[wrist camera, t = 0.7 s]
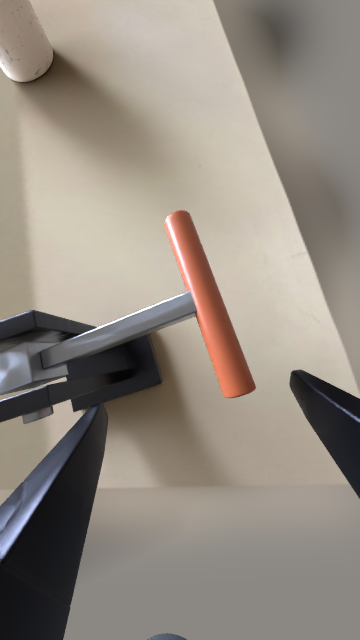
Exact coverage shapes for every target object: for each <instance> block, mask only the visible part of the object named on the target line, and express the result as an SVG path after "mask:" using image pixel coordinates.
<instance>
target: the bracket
mask: <svg viewBox="0 0 360 640" xmlns="http://www.w3.org/2000/svg"><path fill="white" fill-rule="evenodd" d="M96 328H98V327H95V326H91V325H87V324H83V323H80V322H76V321H72V320H69V319H65V318H61V317H58V316H54V315H50V314H46V313H43V312H39V311H35V310H31V311H28V312H25V313H22V314H20V315H17V316H14V317H11V318H8V319H5V320H2V321H0V352H3V351H5V350H7V349H10V348H12V347H14V346H17V345H19V344H21V343H24V342H64V341H66V340H69V339H71V338H74V337H76V336H79V335H81V334H84V333H86V332H88V331H91V330H93V329H96ZM66 365H67V370H68V376H66V378H67V381H65V382H60V383H55V384H50V385H46V386H43V387H40V388H37V389H34V390H31V391H28V392H25V393H22V394H19V395H16V396H13V397H10V398H7V399H4V400H1V401H0V422H3V421H6V420H9V419H12V418H15V417H19V416H22V415H23V416H22V417H23V423H24V424H27V423H30V422H33V421H36V420H39V419H42V418H44V417H47V416H50V415H52V414H53V413H54V412H53V407H52V405H55V404H58V403H61V402H63V401H66V400H69V399H71V402H72V407H73V412H76V411H79V410H82V409H85V408H88V407H91V406H92V405H93V404H98V403H103V402H106V401H109V400H112V399H115V398H118V397H122V396H125V395H128V394H131V393H134V392H137V391H140V390H143V389H146V388H149V387H152V386H155V385H158V384H161V383H162V382H163V379H162V375H161V372H160V368H159V365H158V362H157V358H156V355H155V351H154V348H153V345H152V341H151V338H150V334H147V335H144V336H141V337H139V338H136V339H133V340H131V341H128V342H125V343H123V344H120V345H117V346H115V347H112V348H109V349H107V350H104V351H101V352H99V353H96V354H93V355H91V356H88V357H85V358H82V359H80V360H77V361H74V362H72V363H69V364H66Z"/></svg>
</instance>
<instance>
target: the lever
mask: <svg viewBox="0 0 360 640" xmlns="http://www.w3.org/2000/svg"><path fill="white" fill-rule="evenodd" d="M164 226H165V229H166V232H167V235H168V237H169V240H170V243H171V246H172V249H173V252H174V255H175V258H176V261H177V263H178V266H179V269H180V272H181V275H182V278H183V281H184V284H185V286H186V289H187V292H185V293H183V294H180V295H178V296H175V297H173V298H170V299H168V300H165V301H163V302H160V303H158V304H155V305H153V306H150V307H148V308H145V309H143V310H140V311H138V312H136V313H133V314H131V315H128V316H126V317H123V318H121V319H118V320H116V321H113V322H111V323H108V324H106V325H103V326H101V327H98V328H96V329H93V330H91V331H88V332H86V333H84V334H81V335H79V336H76V337H74V338H71V339H69V340H66V341H64V342H24V343H21V344H19V345H17V346H14V347H12V348H10V349H7V350H5V351H3V352H0V395H3V394H7V393H12V392H16V391H21V390H25V389H30V388H35V387H37V386H40V385H43V384H46V383H48V382H51V381H54V380H57V379H60V378H62V377H65V376H68V370H67V365H66V364H69V363H72V362H74V361H77V360H80V359H82V358H85V357H88V356H91V355H93V354H96V353H99V352H101V351H104V350H107V349H109V348H112V347H115V346H117V345H120V344H123V343H125V342H128V341H131V340H133V339H136V338H139V337H141V336H144V335H147V334H149V333H152V332H155V331H157V330H160V329H163V328H165V327H168V326H171V325H174V324H176V323H179V322H182V321H184V320H187V319H190V318H192V317H195V316H196V318H197V321H198V324H199V327H200V330H201V332H202V335H203V338H204V341H205V344H206V347H207V350H208V353H209V355H210V358H211V361H212V364H213V367H214V370H215V373H216V376H217V378H218V381H219V384H220V387H221V390H222V393H223V396H224V397H225V398H235V397H240V396H243V395H246V394H249V393H251V392H252V391H254V390H255V388H256V386H255V383H254V381H253V378H252V375H251V373H250V370H249V368H248V365H247V362H246V360H245V357H244V354H243V352H242V349H241V347H240V344H239V341H238V339H237V336H236V334H235V331H234V328H233V326H232V323H231V320H230V318H229V315H228V313H227V310H226V307H225V305H224V302H223V299H222V297H221V294H220V292H219V289H218V286H217V284H216V281H215V278H214V276H213V273H212V271H211V268H210V265H209V263H208V260H207V257H206V255H205V252H204V250H203V247H202V244H201V242H200V239H199V237H198V234H197V231H196V229H195V226H194V223H193V221H192V218H191V216H190V214H189V213H188V212H187V211H184V210H179V211H175V212H173V213H172V214H170V215H169V216H168V217H167V218H166V220H165V224H164Z"/></svg>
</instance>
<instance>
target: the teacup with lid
mask: <svg viewBox="0 0 360 640" xmlns="http://www.w3.org/2000/svg"><path fill="white" fill-rule="evenodd" d="M52 60H53V50H52V47H51V45H50V43H49V41H48V39H47V37H46V35H45V33H44V31H43V29H42V26H41V24H40V22H39V20H38V18H37V16H36V14H35V12H34V10H33V8H32V6H31V4H30V1H29V0H0V67H1V68H2V69H3V71H4V72H5V74H6V75H7V76H8V77H9V78H11V79H12V80H15V81H18V82H27V81H31V80H34V79H36V78H38V77H40V76H41V75H43V74H44V73H45V72H46V71H47V70H48V68H49V67H50V65H51V63H52Z"/></svg>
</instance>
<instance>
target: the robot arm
mask: <svg viewBox="0 0 360 640" xmlns="http://www.w3.org/2000/svg"><path fill="white" fill-rule="evenodd" d="M290 388H291V390H292V392H293V394H294V396H295V398H296V400H297V401H298V403H299V405H300V407H301V409H302V411H303V413H304V415H305V416H306V418H307V420H308V421H309V423H310V425H311V426H312V428H313V429H314V431H315V432H316V434H317V435H318V437H319V438H320V440H321V441H322V443H323V444H324V446H325V447H326V449H327V450H328V452H329V453H330V455H331V456H332V458H333V459H334V461H335V462H336V464H337V465H338V467H339V468H340V470H341V471H342V473H343V474H344V476H345V477H346V479H347V480H348V482H349V483H350V485H351V486H352V488H353V489H354V491H355V492H356V494H357V495H358V497H359V498H360V399H359V398H357V397H355V396H353V395H351V394H349V393H347V392H345V391H343V390H341V389H339V388H337V387H335V386H333V385H331V384H329V383H327V382H325V381H323V380H321V379H319V378H317V377H315V376H313V375H311V374H309V373H307V372H305V371H303V370H294V371H292V372H291V376H290ZM107 426H108V414H107V412H106V410H105V407H104V405H103V404H102V403H98V404H93V405H92V406H91V407H90V408H89V409H88V410H87V411H86V413H85V414H84V415H83V416H82V417H81V418H80V419H79V420H78V421H77V423H76V424H75V425H74V426H73V427H72V428H71V429H70V430H69V431H68V432H67V434H66V435H65V436H64V437H63V438H62V439H61V440H60V441H59V442H58V444H57V445H56V446H55V447H54V448H53V449H52V450H51V451H50V452H49V453H48V455H47V456H46V457H45V458H44V459H43V460H42V461H41V462H40V463H39V465H38V466H37V467H36V468H35V469H34V470H33V471H32V472H31V473H30V474H29V476H28V477H27V478H26V479H25V480H24V482H22V483H21V484H20V485H19V486H18V488H17V489H16V490H15V491H14V492H13V493H12V494H11V495H10V496H9V498H7V500H6V501H5V502H4V503H3V504H2V505H1V506H0V640H63V638H64V634H65V629H66V625H67V620H68V616H69V611H70V605H71V601H72V597H73V592H74V587H75V583H76V579H77V574H78V569H79V565H80V561H81V556H82V552H83V547H84V543H85V538H86V534H87V529H88V525H89V520H90V516H91V511H92V507H93V502H94V497H95V493H96V489H97V484H98V480H99V475H100V471H101V466H102V462H103V457H104V451H105V443H106V434H107Z"/></svg>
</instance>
